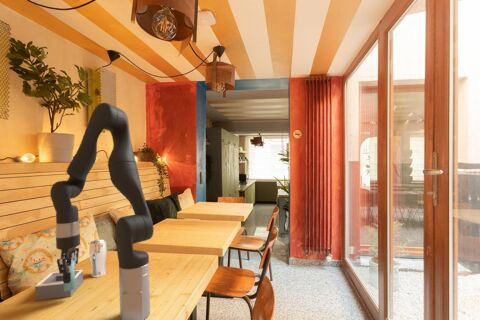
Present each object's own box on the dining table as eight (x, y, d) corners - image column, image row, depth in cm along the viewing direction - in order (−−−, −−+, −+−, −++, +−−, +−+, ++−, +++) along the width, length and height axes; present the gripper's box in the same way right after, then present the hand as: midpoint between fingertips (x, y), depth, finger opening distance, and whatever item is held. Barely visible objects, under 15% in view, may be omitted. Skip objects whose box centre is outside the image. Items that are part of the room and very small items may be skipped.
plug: (73, 290, 98) (72, 257, 98) (60, 292, 97) (59, 259, 97) (77, 285, 102) (76, 254, 102) (65, 287, 101) (64, 255, 101)
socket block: (70, 296, 102) (70, 282, 102) (35, 300, 100) (35, 285, 100) (83, 282, 114) (82, 269, 114) (51, 285, 112) (51, 272, 112)
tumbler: (103, 270, 127) (102, 238, 127) (110, 273, 122) (109, 240, 122) (87, 275, 121) (86, 242, 121) (93, 279, 117) (93, 245, 117)
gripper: (71, 238, 94) (73, 287, 94) (85, 228, 108) (87, 271, 107) (47, 240, 92) (48, 290, 92) (65, 230, 106) (66, 274, 106)
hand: (69, 280), depth 100 cm, fingers closed on plug, 3 cm apart
